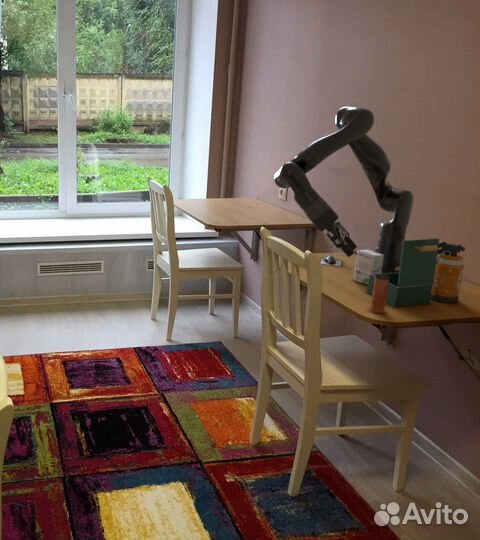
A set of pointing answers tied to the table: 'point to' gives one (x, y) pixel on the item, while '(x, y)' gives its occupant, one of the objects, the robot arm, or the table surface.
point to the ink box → (367, 265)
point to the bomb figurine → (330, 261)
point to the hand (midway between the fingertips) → (353, 252)
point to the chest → (403, 292)
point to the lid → (418, 262)
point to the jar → (379, 293)
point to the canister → (448, 273)
